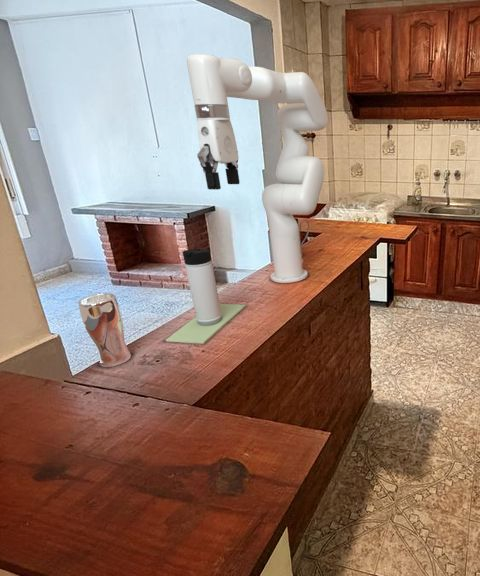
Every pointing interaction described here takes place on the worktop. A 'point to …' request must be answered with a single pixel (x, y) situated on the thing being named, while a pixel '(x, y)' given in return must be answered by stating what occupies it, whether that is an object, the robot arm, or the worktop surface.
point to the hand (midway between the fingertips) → (224, 186)
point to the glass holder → (300, 230)
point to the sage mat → (204, 327)
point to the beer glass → (105, 328)
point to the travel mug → (202, 286)
